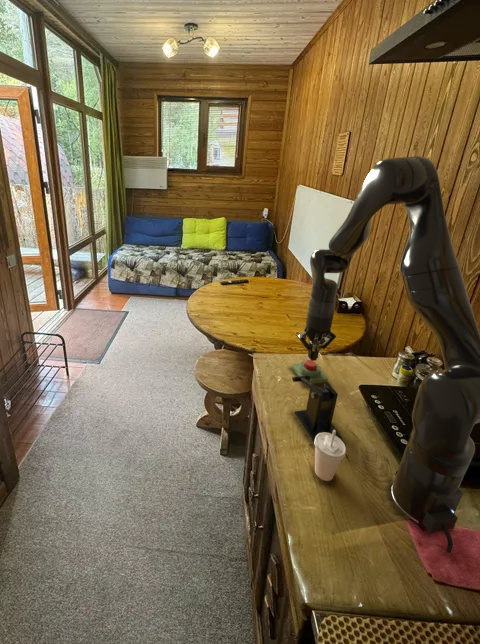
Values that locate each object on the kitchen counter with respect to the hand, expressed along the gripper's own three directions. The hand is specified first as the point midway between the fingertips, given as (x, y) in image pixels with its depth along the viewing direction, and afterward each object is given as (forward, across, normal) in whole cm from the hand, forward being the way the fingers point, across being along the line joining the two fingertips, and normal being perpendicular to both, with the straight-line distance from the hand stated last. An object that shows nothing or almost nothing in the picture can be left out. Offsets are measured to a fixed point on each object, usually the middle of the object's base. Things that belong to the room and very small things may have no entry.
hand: (312, 359), depth 101 cm
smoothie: (+8, -15, -33) cm, 37 cm away
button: (+3, 0, 0) cm, 4 cm away
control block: (+7, 0, 0) cm, 7 cm away
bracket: (+7, -9, -20) cm, 23 cm away
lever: (-1, -9, -15) cm, 18 cm away
